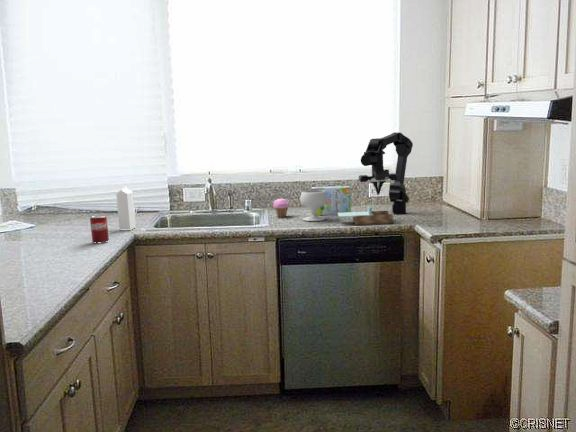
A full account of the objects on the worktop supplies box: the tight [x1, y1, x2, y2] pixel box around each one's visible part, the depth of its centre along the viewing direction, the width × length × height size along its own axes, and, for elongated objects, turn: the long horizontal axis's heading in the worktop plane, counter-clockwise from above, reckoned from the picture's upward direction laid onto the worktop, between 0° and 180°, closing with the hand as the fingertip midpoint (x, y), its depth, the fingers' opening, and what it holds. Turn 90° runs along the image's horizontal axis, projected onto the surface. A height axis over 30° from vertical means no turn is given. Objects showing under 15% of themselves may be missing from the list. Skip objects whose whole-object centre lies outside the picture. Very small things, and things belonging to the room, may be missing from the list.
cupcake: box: [272, 198, 290, 218], centre depth 318 cm, size 9×9×10 cm
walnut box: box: [352, 210, 394, 226], centre depth 292 cm, size 18×12×5 cm, turn 91°
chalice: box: [299, 189, 327, 222], centre depth 305 cm, size 14×14×15 cm
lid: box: [337, 205, 374, 218], centre depth 291 cm, size 17×10×4 cm, turn 91°
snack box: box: [310, 185, 352, 216], centre depth 319 cm, size 21×6×15 cm, turn 84°
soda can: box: [89, 214, 110, 243], centre depth 269 cm, size 7×7×12 cm
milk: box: [115, 185, 137, 230], centre depth 297 cm, size 6×6×22 cm
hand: (378, 194), depth 299 cm, fingers closed
